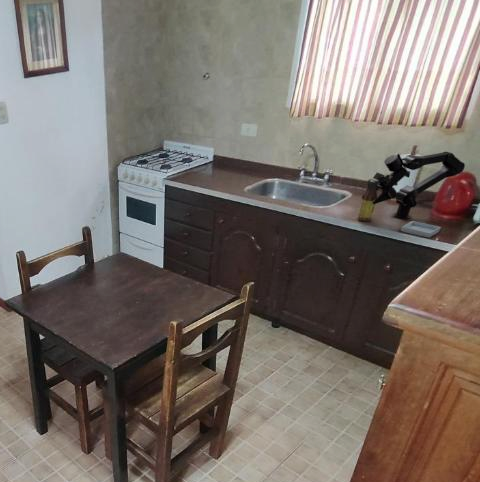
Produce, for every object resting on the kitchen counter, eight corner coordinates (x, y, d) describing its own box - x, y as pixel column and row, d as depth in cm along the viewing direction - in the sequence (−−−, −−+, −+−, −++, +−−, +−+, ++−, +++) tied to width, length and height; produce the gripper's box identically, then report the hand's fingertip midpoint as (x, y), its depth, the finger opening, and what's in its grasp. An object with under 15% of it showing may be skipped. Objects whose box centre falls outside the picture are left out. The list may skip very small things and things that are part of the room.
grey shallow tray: (411, 225, 241) (412, 220, 239) (439, 231, 232) (441, 227, 231) (400, 231, 234) (401, 226, 233) (428, 237, 226) (430, 233, 225)
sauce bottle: (372, 221, 247) (383, 182, 235) (359, 221, 248) (370, 182, 237) (368, 217, 252) (379, 179, 241) (356, 217, 253) (366, 179, 242)
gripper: (375, 162, 243) (349, 186, 248) (399, 171, 228) (371, 195, 233) (385, 177, 248) (359, 200, 253) (409, 186, 233) (381, 210, 238)
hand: (367, 201), depth 244 cm, fingers open, 9 cm apart
